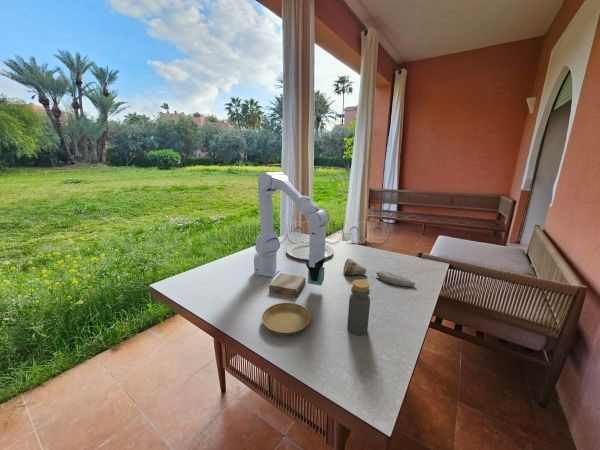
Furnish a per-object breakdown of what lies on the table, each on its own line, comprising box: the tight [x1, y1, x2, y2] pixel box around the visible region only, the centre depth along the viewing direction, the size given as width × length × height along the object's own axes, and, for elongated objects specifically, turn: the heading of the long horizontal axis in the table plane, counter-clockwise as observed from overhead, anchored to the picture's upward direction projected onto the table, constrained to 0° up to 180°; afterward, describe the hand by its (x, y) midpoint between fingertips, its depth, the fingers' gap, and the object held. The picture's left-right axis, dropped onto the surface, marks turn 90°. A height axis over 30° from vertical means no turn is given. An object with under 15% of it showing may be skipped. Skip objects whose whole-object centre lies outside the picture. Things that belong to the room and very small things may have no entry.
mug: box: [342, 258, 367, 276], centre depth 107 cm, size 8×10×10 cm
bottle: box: [346, 279, 371, 336], centre depth 70 cm, size 6×6×15 cm
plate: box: [286, 241, 334, 261], centre depth 132 cm, size 26×26×2 cm
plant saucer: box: [261, 302, 311, 336], centre depth 75 cm, size 15×15×3 cm
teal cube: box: [307, 266, 325, 286], centre depth 91 cm, size 5×5×5 cm
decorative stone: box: [375, 270, 416, 287], centre depth 101 cm, size 6×16×3 cm, turn 57°
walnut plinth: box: [268, 273, 307, 298], centre depth 95 cm, size 11×11×3 cm
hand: (316, 277), depth 92 cm, fingers closed on teal cube, 5 cm apart
